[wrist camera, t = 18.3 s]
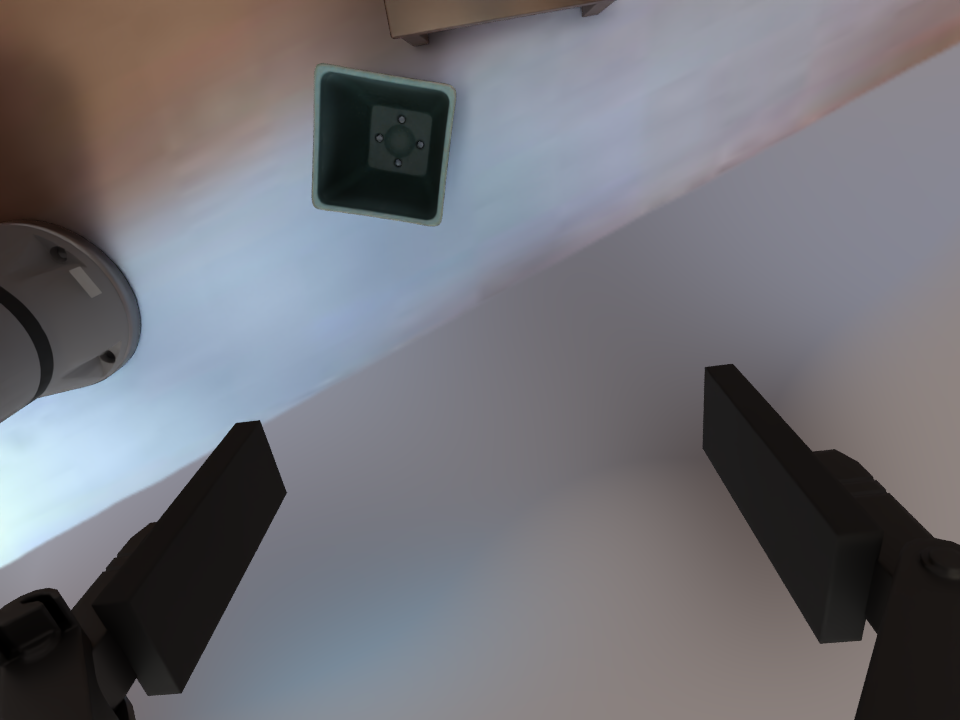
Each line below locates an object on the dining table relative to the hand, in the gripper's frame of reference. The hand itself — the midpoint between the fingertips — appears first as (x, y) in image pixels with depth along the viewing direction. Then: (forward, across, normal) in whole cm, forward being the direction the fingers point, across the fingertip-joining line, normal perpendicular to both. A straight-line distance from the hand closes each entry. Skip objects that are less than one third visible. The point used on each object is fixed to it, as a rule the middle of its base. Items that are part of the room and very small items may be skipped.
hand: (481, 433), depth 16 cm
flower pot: (+33, -6, +7) cm, 34 cm away
